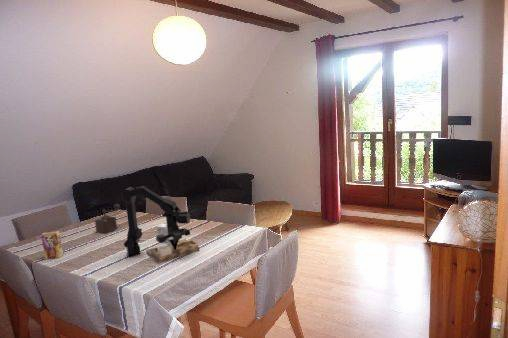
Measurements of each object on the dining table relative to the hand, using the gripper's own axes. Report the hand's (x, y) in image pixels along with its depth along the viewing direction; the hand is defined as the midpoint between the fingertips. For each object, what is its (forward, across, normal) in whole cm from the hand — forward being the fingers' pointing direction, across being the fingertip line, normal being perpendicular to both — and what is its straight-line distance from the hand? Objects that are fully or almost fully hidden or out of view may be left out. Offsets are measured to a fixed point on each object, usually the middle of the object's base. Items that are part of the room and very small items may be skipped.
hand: (174, 249), depth 206 cm
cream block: (+1, -6, 0) cm, 6 cm away
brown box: (+3, -18, +78) cm, 80 cm away
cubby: (+1, +7, 0) cm, 7 cm away
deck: (+3, 0, +4) cm, 5 cm away
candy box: (+3, -57, +48) cm, 75 cm away
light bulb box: (+3, +5, +24) cm, 24 cm away
